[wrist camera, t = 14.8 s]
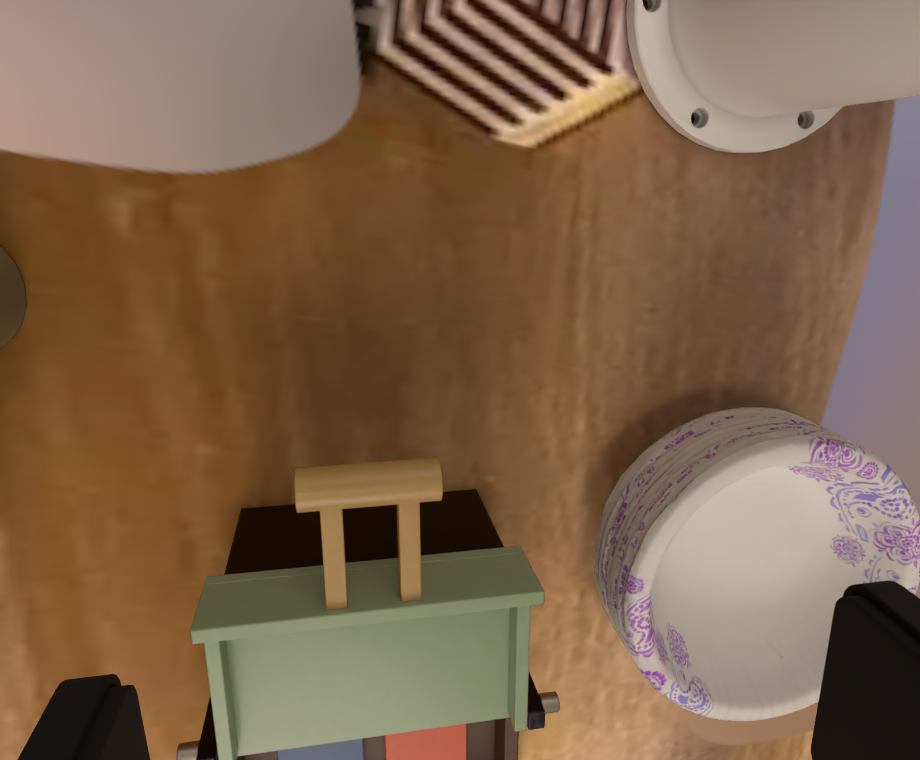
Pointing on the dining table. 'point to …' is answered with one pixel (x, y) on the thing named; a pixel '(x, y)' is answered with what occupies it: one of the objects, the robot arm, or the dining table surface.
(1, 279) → the pepper mill
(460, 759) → the coral sachet
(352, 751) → the blue sachet
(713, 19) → the robot arm
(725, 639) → the paper bowls
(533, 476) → the dining table surface
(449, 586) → the green handled tray
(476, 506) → the stand
